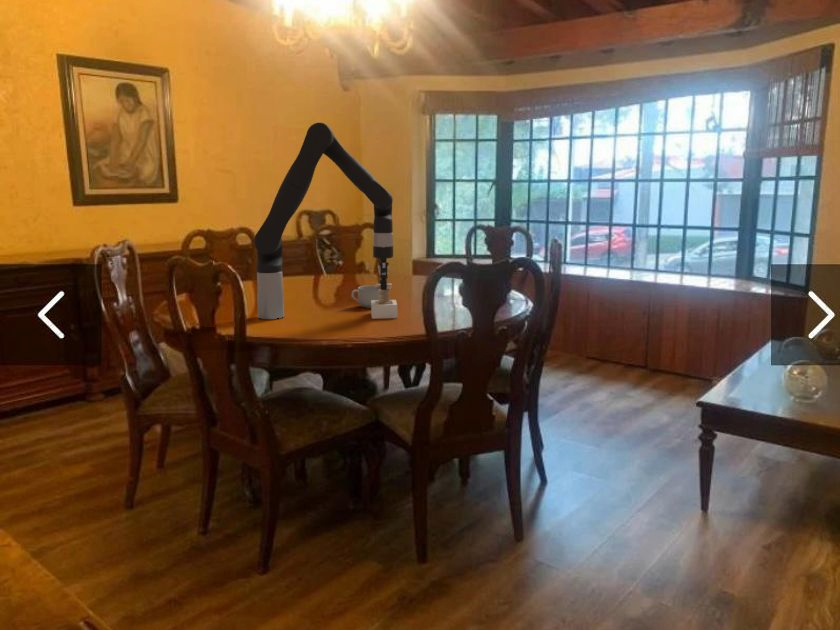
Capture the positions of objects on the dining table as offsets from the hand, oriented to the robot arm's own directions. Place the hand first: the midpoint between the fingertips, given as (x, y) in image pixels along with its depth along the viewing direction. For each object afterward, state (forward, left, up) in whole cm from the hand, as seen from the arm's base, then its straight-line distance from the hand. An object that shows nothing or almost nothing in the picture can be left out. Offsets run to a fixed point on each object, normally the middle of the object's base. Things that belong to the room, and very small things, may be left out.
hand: (383, 288), depth 252 cm
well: (0, 0, -11) cm, 11 cm away
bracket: (0, 0, -11) cm, 11 cm away
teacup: (-6, +19, -11) cm, 23 cm away
